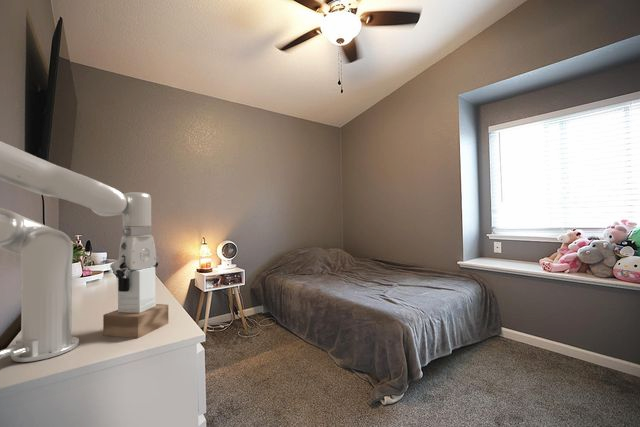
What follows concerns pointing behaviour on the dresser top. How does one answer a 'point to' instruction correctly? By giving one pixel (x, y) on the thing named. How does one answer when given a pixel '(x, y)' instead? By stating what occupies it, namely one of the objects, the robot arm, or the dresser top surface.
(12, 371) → the dresser top surface
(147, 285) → the supplement box
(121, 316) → the walnut block
